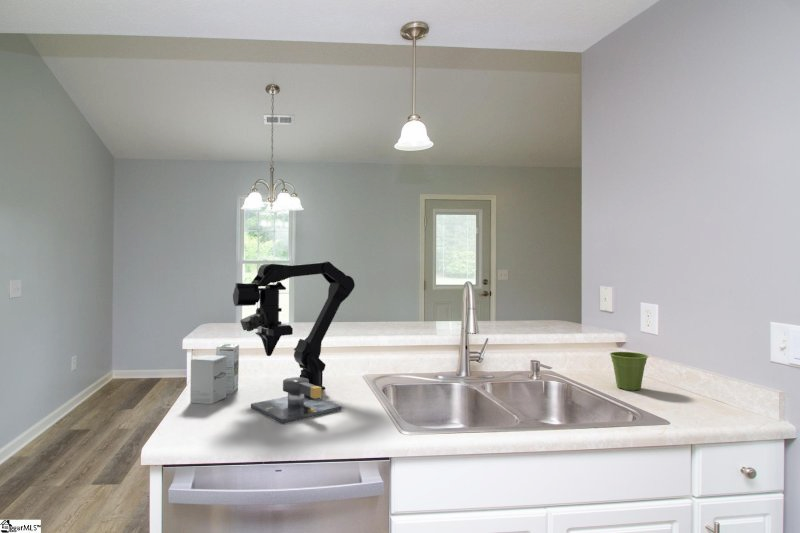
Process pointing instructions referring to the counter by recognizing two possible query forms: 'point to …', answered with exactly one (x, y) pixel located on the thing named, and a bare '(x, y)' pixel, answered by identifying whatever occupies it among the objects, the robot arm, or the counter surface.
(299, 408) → the base
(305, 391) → the handle
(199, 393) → the supplement box
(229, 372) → the syrup box
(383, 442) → the counter surface
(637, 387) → the plant pot
